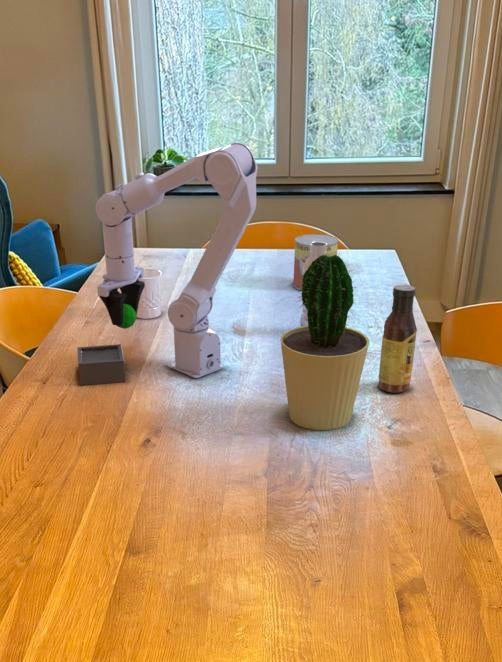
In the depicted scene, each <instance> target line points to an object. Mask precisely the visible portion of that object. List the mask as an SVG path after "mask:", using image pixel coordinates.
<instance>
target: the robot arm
mask: <svg viewBox="0 0 502 662" xmlns="http://www.w3.org/2000/svg"><path fill="white" fill-rule="evenodd" d="M258 170H259V167H258V164H257V162H256V159H255V157H254V154H253V152H252V150H251V149H250V147H249V146H248V145H246V144H244V143H242V142H232V143H230V144H228V145H227V146H226V147H223V146H222V147H218V148H215V149H212V150H208V151H206V152H202V153H199V154H198V155H195V156H193V157H191V158H189V159H187V160H185V161H184V162H182V163H180V164H178V165H176V166H174V167H173V168H171V169H170V170H167V171H165V172H164V173H162V174H160V175H155V174H153V173H150V172H147V173H145V174H144V172H143V171H142V172H139V173H138V174H135V175H134V179H133V180H131V181H129V182H127V183H126V184H122V183H120V184H117V185H115V189H114V190H112V191H110V192H108V193H103V194H102V195H101V196H100V197H99V198H98V199H97V201H96V203H95V214H96V216H97V218H98V220H99V221H100V222H101V225H102V236H103V246H104V257H105V270H106V273H105V274H103V275H102V279H103V280H102V282H101V283H100V284H98V285H97V286H96V288H97V296H98V297H99V298H100V300H101V301H102V303H103V305H104V306H105V308H106V311H107V313H108V315H109V318H110V321H111V324H112V326H116V327H118V326H122V325H123V307H124V304H128V305H130V306H132V308H133V309H134V310H135V312H136V316H137V311H138V305H139V300H140V296H141V294H142V291H143V289H144V287H145V282H142V281H138V278H144V269H145V268H144V267H138V266H136V265H135V255H134V254H135V253H134V242H133V241H134V240H133V227H132V226H133V224H132V219H133V217H134V216H138V215H139V214H141V213H143V212H146V211H147V210H150V209H151V208H153V207H154V208H155V207H156V206H158V205H160V204H161V203H162V202H163V200H164V198H165V194H166V193H167V192H169V191H171V190H174V189H176V188H178V187H180V186H183V185H185V184H187V183H189V182H192V181H194V180H198V181H199V182H201V183H207V182H209V184H211V186H212V187H213V188H214V190H215V191H216V192H217V194H218V195H219V196H220V198H221V199H222V202H223V205H224V207H225V208H224V211H223V213H222V215H221V217H220V219H219V221H218V223H217V226H216V227H215V229H214V231H213V234H212V236H211V238H210V240H209V241H208V244H207V246H206V247H205V250H204V252H203V254H202V256H201V258H200V259H199V262H198V264H197V266H196V268H195V270H194V272H193V274H192V277H191V278H190V280H189V282H188V283H187V284H186V285H185V286H184V288H183V290H182V291H181V292H180V294H179V296H178V298H177V299H175V300H173V301H172V302H171V303H170V304H169V307H168V308H167V317H168V320H169V322H170V324H171V325H172V326H173V342H174V343H173V344H174V345H173V346H174V360H173V361H170V362H168V363H166V367H168V368H169V369H173V370H174V371H177V372H180V373H181V374H184V375H186V376H188V377H191V378H194V379H199V378H201V377H205V376H208V375H209V374H212V373H215V372H217V371H220V370H222V369H224V365H222V364H221V363H222V362H221V340H220V337H219V335H218V334H217V333H216V332H214V331H213V330H212V329H211V327H210V321H209V317H208V316H209V314H210V313H211V311H212V310H213V307H214V306H213V305H214V301H213V300H214V296H215V294H216V292H217V289H216V287H217V285H218V283H219V281H220V279H221V277H222V275H223V273H224V271H225V270H226V267H227V265H228V263H229V261H230V260H231V258H232V256H233V254H234V252H235V250H236V248H237V246H238V245H239V243H240V241H241V239H242V236H243V234H245V233H244V232H245V230H246V229H247V227H248V225H249V223H250V222H251V219H252V217H253V216H254V213H255V212H256V208H257V174H258ZM119 290H120V291H119Z"/></svg>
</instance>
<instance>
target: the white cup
mask: <svg viewBox="0 0 502 662" xmlns="http://www.w3.org/2000/svg"><path fill="white" fill-rule="evenodd" d="M138 281H142V282H145V287H144V289H143V291H142V294H141V296H140V300H139V305H138V311H137V316H136V319H141V320H149V319H157V318H158V317H160V316H161V315H162V291H163V289H162V284H163V283H162V271H160V270H158V269H154V268H144V278H138Z"/></svg>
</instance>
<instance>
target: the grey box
mask: <svg viewBox="0 0 502 662" xmlns="http://www.w3.org/2000/svg"><path fill="white" fill-rule="evenodd" d="M76 349H77V362H78V363H77V364H78V365H77V366H78V374H79V375H78V376H79V383H80V386H89V385H103V384H115V383H126V382H127V379H126V370H125V369H126V367H125V358H124V353H123V347H122V344H121V343H119V344H106V345H105V344H104V345H91V346H78V347H77V348H76Z"/></svg>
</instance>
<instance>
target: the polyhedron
mask: <svg viewBox="0 0 502 662" xmlns="http://www.w3.org/2000/svg"><path fill="white" fill-rule="evenodd" d="M136 320H137V317H136V312H135V310H134V309H133V308H132V306H130V305H128V304H124V307H123V325H122V326H117V327H118V328H120V329H124V330H126V329H129V328H131V327H133V326H134V324H135V323H136Z"/></svg>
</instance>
